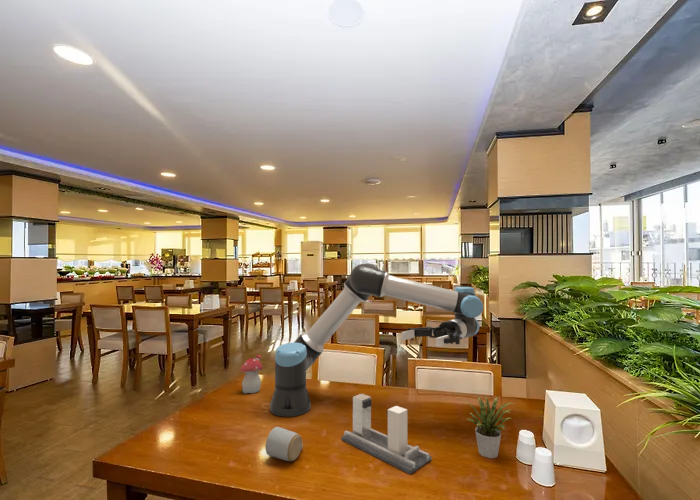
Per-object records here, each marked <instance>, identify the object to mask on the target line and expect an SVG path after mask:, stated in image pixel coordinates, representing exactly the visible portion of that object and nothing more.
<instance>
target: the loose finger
mask: <svg viewBox="0 0 700 500" xmlns="http://www.w3.org/2000/svg"><path fill="white" fill-rule="evenodd" d="M386 417H387V436H388V450H390V451H392V452H394V453H396V454H398V455H400V456H402V455H404V454H405V452H406V451H408V447H407V444H408V409H407V408H404V407H401V406H398V405H395V406H392V407H390V408H388V409H387V410H386Z"/></svg>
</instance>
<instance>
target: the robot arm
mask: <svg viewBox="0 0 700 500" xmlns="http://www.w3.org/2000/svg"><path fill="white" fill-rule="evenodd" d="M343 286H344V287H343V288H344V289H342V291H341V292H339V294H338V295H337V297H335V299H334V300H333V301H332V303H331V304H330V305H329V306H328V307H327V308H326V310H324V312H323V313H322V314H321V315H320V317H319V318H318V319H317V320H316V321H315V322H314V323H313V325H312V326H311V327H310V329H309V330H307V331H302V333H300V335H299V336H298V337H297V338H296V339H295V341H293V342H287V343H283V344H280V345H279V346H278V347H277V348H276V350H275V352H274V353H275V355H274V390H273V394H272V397H271V401H270V403H269V412H270V413H271V414H273V415H275V416H277V417H283V418H284V417H286V418H288V417H297V416H301V415H304V414H307V413H308V412H309V411H310V410H311V407H312V406H311V405H312V404H311V403H312V402H311V399H310V395H309V392H308V388H307V371H308V369H309V368H310V367H311V366H312V365H314V364H315V363H316V361H317V359H318V358H319V357H320V355H321V354H322V353H323V352H324V345H325V344H326V343H328V341H329V339H330V338H331V337H332V336H333V335H334V334H335V332H336V331H337V330H338V329H339V328H340V327H341V325H342V324H343V323H344V322H345V321H346V320H347V319H348V318H349V316H350V315H351V313H352V312H353V311H354V310H355V309H356V308H357V307H358V305H359V304H360V303H366V302H367V301H368V299H369V298H370V297H371V296H375V297H377V298H378V297H379V298H382V297H384V296H387V297H391V298H395V299H398V300H402V301H407V302H411V303H415V304H419V305H423V306H427V307H432V308H435V309H439V310H444V311H448V312H453V313H454V319H449V320H446V321H443V322H441V323H440V324H439V326H436V327H431V326H425V327H409V328H407V330H405V331H401V335H400V336H401V341H405V340H410V339H411V340H412V339H414V338H417V337H429V338H432V339H435V347H437V348H440V347H443V346H446V345H449V344H451V345H453V344H454V343H455V345H460V343H461V340H463V339H465V338H471V337H473V336H475V335H476V334H478V333H479V331H480V323H479V321H478V319H477V318H478V317H479V316H481V315H482V313H483V310H484V304H483V302H482V300H481V299H480V297H478V296H477V295H476V293H475V288H474V287H472V286H457V287H454V290H451V289H448V288H443V287H440V286H435V285H431V284H428V283H427V284H426V283H423V282H418V281H415V280H412V279H411V280H410V279H406V278H403V277H399V276H394V275H390V274H389V272H388V271H385V270H383V269H382V270H381V269H380V268H378V266H376V265H375V264H373V263H369V262H367V263H361V264H360V263H359V264H358V265H356V266H354V267H353V269H351V271H350V274H349V277H348V278H347V279H346V280H345V281H344V283H343Z"/></svg>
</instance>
